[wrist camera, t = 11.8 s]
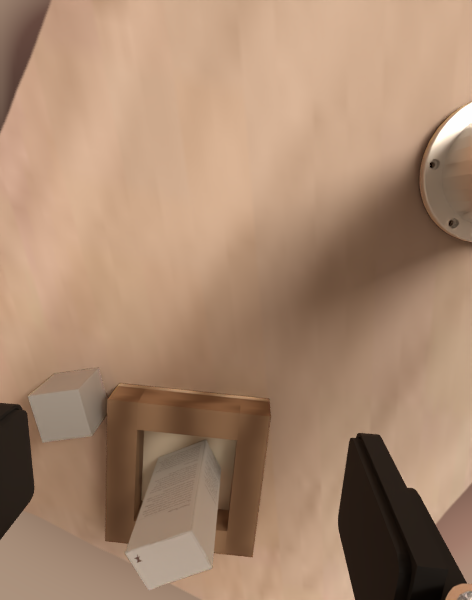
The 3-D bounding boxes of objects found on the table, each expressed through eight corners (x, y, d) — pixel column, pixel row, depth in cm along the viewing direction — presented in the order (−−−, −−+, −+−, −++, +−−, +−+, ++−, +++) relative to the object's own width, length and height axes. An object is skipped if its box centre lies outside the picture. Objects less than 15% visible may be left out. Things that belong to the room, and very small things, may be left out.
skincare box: (174, 487, 42) (146, 593, 31) (157, 456, 41) (121, 553, 30) (224, 469, 41) (213, 570, 30) (207, 437, 41) (190, 529, 29)
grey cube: (99, 366, 40) (78, 389, 35) (110, 409, 41) (91, 436, 36) (54, 373, 40) (27, 396, 35) (66, 414, 41) (42, 442, 37)
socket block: (269, 398, 40) (270, 416, 37) (252, 530, 44) (252, 557, 41) (119, 383, 40) (107, 399, 37) (116, 515, 44) (105, 541, 41)
